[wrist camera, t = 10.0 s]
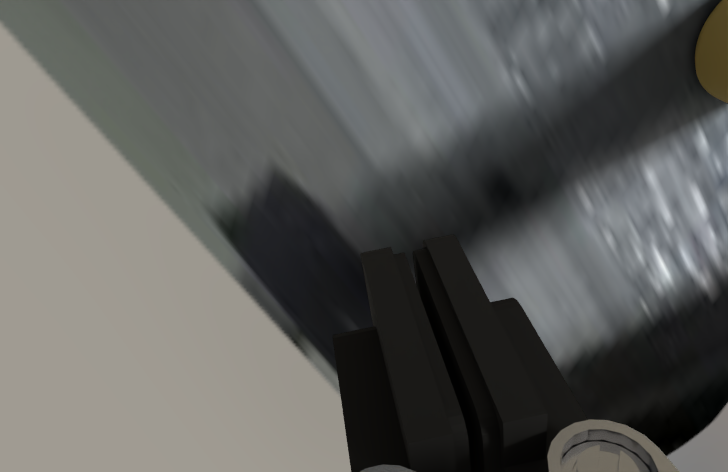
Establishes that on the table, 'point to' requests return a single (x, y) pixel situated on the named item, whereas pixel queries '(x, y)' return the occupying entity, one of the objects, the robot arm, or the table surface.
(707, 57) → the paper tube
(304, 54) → the table surface
